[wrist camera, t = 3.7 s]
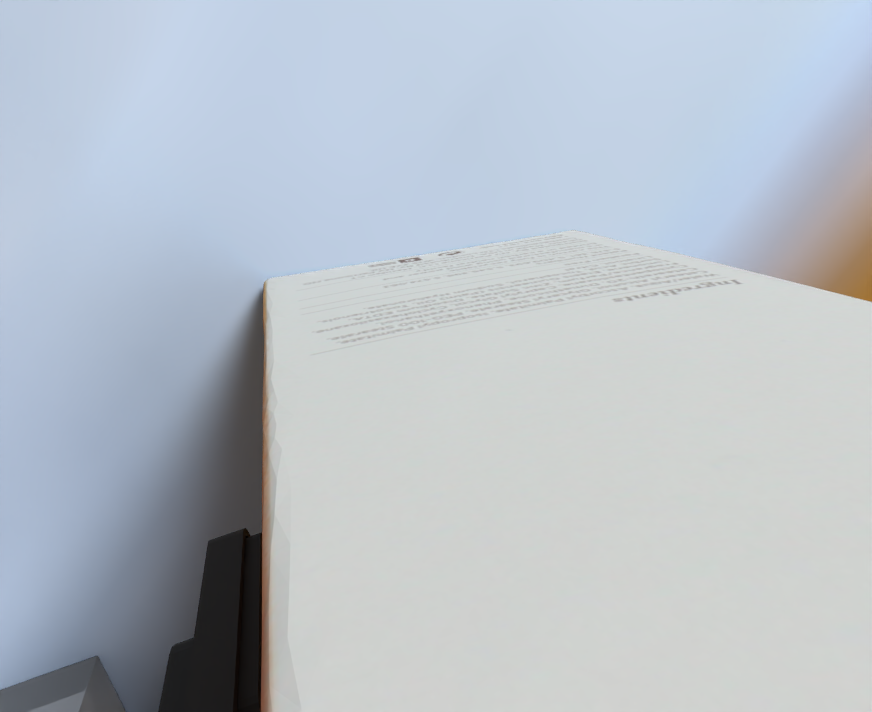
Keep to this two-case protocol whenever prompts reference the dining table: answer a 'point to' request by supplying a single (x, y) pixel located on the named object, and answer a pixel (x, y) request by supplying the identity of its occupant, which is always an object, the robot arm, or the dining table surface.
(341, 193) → the dining table surface
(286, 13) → the dining table surface
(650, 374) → the small box
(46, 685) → the tray
